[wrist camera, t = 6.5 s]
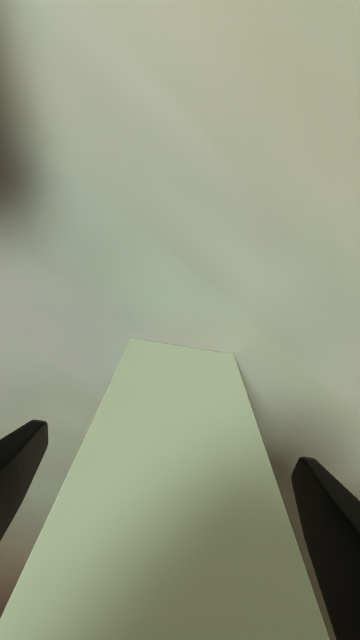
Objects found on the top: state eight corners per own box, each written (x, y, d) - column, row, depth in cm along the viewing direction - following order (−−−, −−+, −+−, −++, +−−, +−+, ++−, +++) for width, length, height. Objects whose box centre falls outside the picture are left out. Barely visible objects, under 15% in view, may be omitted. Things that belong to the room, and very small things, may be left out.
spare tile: (224, 388, 13) (312, 795, 4) (127, 373, 13) (-23, 763, 4) (233, 354, 12) (370, 759, 3) (130, 338, 12) (-46, 715, 3)
